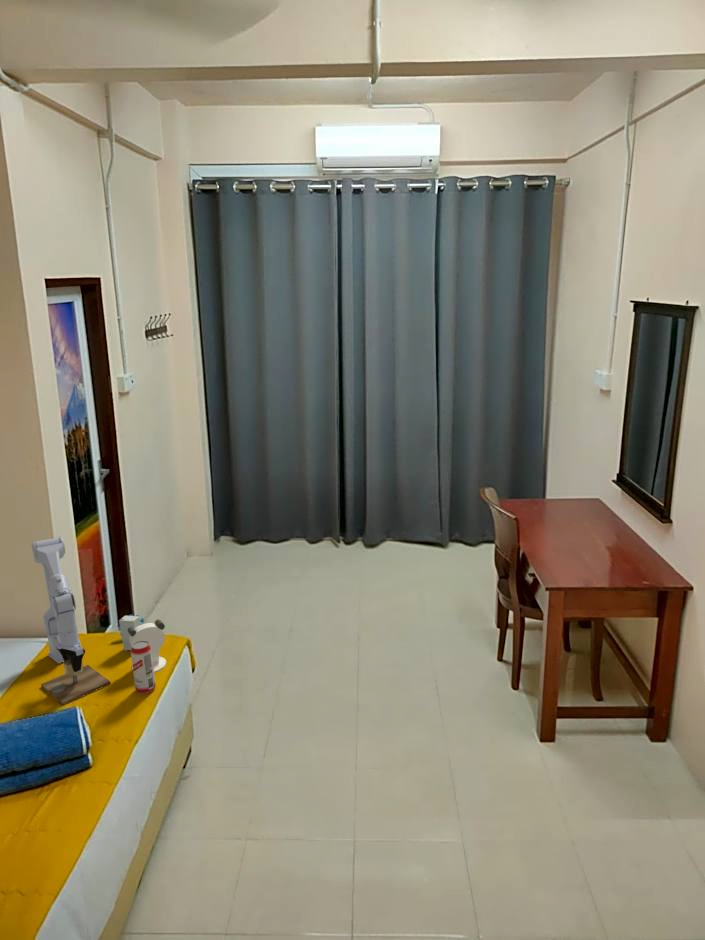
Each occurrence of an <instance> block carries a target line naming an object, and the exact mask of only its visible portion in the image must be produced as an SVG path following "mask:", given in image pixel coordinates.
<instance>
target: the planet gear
mask: <svg viewBox="0 0 705 940" xmlns="http://www.w3.org/2000/svg"><path fill="white" fill-rule="evenodd" d="M83 665H84V664H82V665H81V670H79V671H77V672H74V671H73V669H72V665H71V662H70V660H69V659H67V660H65V662H63V668H64V674H66V675H67V676H76V675H78V674H81V673H82V671H83V667H84V666H83Z"/></svg>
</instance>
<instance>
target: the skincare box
mask: <svg viewBox="0 0 705 940" xmlns="http://www.w3.org/2000/svg"><path fill="white" fill-rule="evenodd" d="M140 620H141V618H140V616H139V615H138V616H136V615H133V616H130V615H124V616H123V617H121V618H120V619H119V620H118V622H119V623H120V624H119V623H118V624H119V626H120V629H121V630H120V633H121V634H120V636H121V635H122V636H121V641H122V646H123V647H122V648H123V650H124V651H127V650H130V652H131V649H132V646H131V645H130V641H129V639H130V634H129V633H128V628H129V627H133V628H135V627H137V626H139V625H141V624H142V623H141V622H140Z"/></svg>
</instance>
